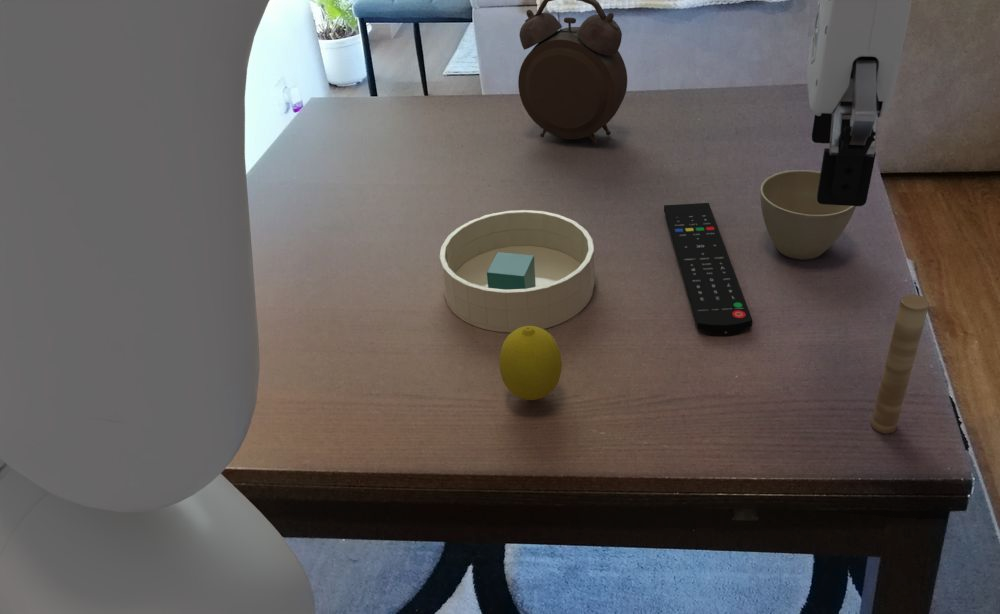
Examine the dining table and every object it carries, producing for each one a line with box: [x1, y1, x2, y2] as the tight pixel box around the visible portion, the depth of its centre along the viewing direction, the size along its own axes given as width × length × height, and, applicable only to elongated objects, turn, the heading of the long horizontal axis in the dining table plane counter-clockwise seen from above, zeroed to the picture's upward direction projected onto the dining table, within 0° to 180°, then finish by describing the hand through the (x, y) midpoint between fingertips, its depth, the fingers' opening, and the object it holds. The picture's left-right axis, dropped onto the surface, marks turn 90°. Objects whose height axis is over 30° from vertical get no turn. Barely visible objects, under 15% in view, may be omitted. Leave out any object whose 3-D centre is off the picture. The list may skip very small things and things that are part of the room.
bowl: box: [438, 209, 595, 334], centre depth 93 cm, size 16×16×5 cm
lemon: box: [499, 326, 563, 401], centre depth 78 cm, size 6×6×8 cm
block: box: [487, 252, 536, 290], centre depth 91 cm, size 4×4×4 cm
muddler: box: [870, 293, 930, 434], centre depth 70 cm, size 2×2×13 cm
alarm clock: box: [517, 0, 628, 146], centre depth 119 cm, size 15×7×20 cm, turn 65°
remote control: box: [663, 202, 753, 337], centre depth 95 cm, size 5×24×1 cm, turn 179°
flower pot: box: [759, 169, 857, 261], centre depth 95 cm, size 10×10×7 cm
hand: (836, 170), depth 65 cm, fingers open, 9 cm apart
